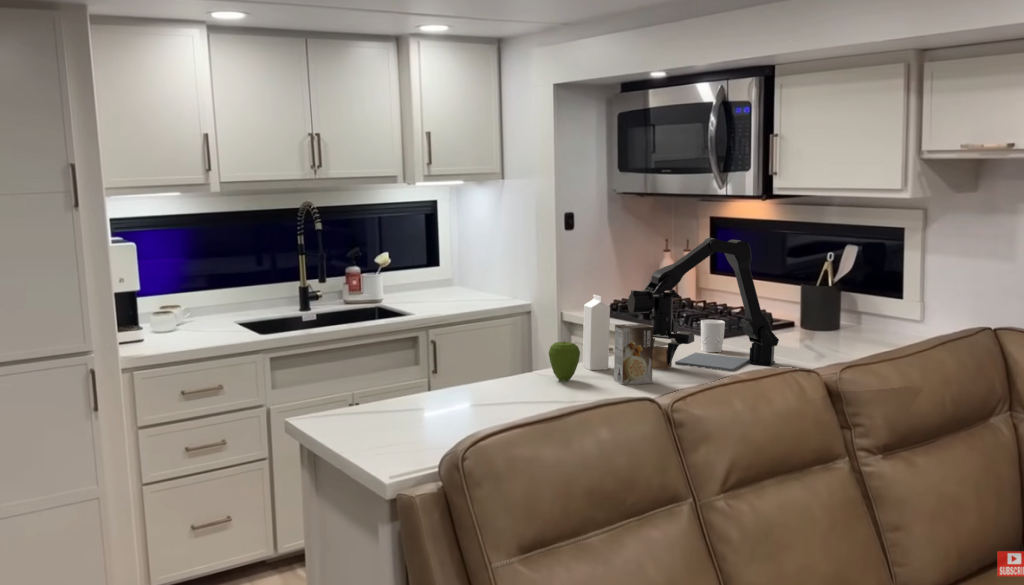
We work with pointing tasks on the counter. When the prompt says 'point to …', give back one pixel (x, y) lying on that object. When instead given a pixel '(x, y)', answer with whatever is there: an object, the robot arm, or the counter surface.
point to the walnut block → (660, 358)
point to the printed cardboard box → (633, 354)
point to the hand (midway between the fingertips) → (660, 363)
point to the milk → (596, 334)
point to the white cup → (712, 335)
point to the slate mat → (713, 361)
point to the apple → (564, 359)
